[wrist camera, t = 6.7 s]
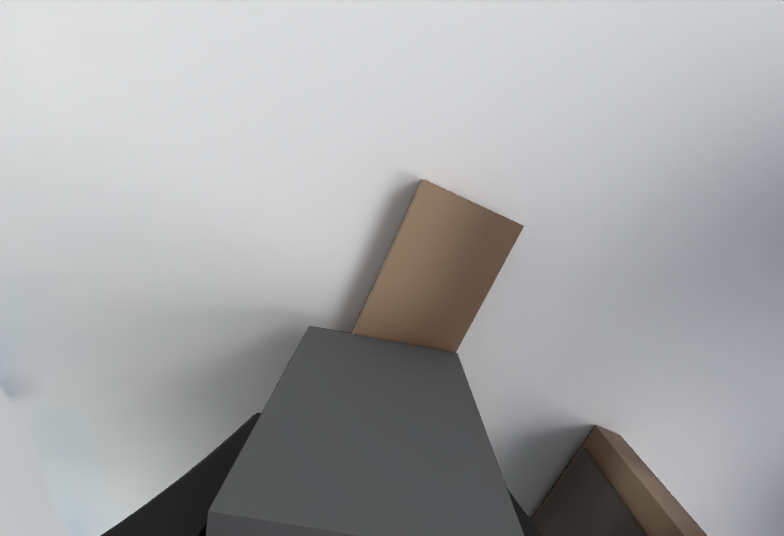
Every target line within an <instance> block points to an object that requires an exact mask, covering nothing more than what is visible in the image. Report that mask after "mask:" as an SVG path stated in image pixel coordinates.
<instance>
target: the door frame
mask: <svg viewBox="0 0 784 536" xmlns="http://www.w3.org/2000/svg"><path fill="white" fill-rule="evenodd" d="M523 227H524V226H523V225H521V224H519V223H516V222H514V221H512V220H510V219H508V218H506V217H504V216H501V215H499V214H497V213H495V212H493V211H491V210H488V209H486V208H484V207H482V206H480V205H478V204H476V203H473V202H471V201H469V200H467V199H465V198H463V197H461V196H458V195H456V194H454V193H452V192H450V191H448V190H446V189H443V188H441V187H439V186H437V185H435V184H433V183H430V182H428V181H426V180H424V179H421V181H420V184H419V186H418V188H417V190H416V192H415V195H414V197H413V199H412V201H411V203H410V206H409V208H408V210H407V212H406V214H405V216H404V219H403V221H402V223H401V225H400V227H399V230H398V232H397V234H396V236H395V238H394V241H393V243H392V245H391V247H390V249H389V252H388V254H387V256H386V258H385V260H384V263H383V265H382V267H381V269H380V271H379V274H378V276H377V278H376V280H375V282H374V285H373V287H372V289H371V291H370V293H369V296H368V298H367V300H366V302H365V304H364V307H363V309H362V311H361V313H360V315H359V318H358V320H357V322H356V324H355V326H354V329H353V331H352V333H351V334H356V335H361V336H367V337H372V338H377V339H383V340H388V341H393V342H398V343H404V344H409V345H414V346H420V347H425V348H430V349H436V350H441V351H446V352H452V353H456V351H457V349H458V347H459V345H460V343H461V342H462V340H463V338H464V336H465V334H466V332H467V331H468V329H469V327H470V325H471V323H472V321H473V319H474V318H475V316H476V314H477V312H478V310H479V308H480V306H481V305H482V303H483V301H484V299H485V297H486V295H487V293H488V292H489V290H490V288H491V286H492V284H493V282H494V280H495V279H496V277H497V275H498V273H499V271H500V269H501V268H502V266H503V264H504V262H505V260H506V258H507V256H508V255H509V253H510V251H511V249H512V247H513V245H514V243H515V242H516V240H517V238H518V236H519V234H520V232H521V230H522V229H523ZM531 522H532V523H533V524H534V526H535V527H536V528H537V529H538V531H539V532H540V533H541V535H542V536H707V535H706V534H705V532H704V531H703V530H702V529H701V528H700V527H699V526H698V524H697V523H696V522H695V521H694V520H693V519H692V517H691V516H690V515H689V514H688V513H687V512H686V511H685V509H684V508H683V507H682V506H681V505H680V504H679V502H678V501H677V500H676V499H675V498H674V497H673V496H672V494H671V493H670V492H669V491H668V490H667V489H666V487H665V486H664V485H663V484H662V483H661V482H660V481H659V479H658V478H657V477H656V476H655V475H654V474H653V473H652V471H651V470H650V469H649V468H648V467H647V466H646V464H645V463H644V462H643V461H642V460H641V459H640V458H639V456H638V455H637V454H636V453H635V452H634V451H633V449H632V448H631V447H630V446H629V445H628V444H627V443H626V441H625V440H624V439H623V438H622V437H621V436H620V435H618V434H615V433H613V432H611V431H608V430H606V429H603V428H601V427H599V426H595V427H594V428H593V430H592V431H591V433H590V434H589V436H588V437H587V439H586V440H585V442H584V443H583V445H582V446H581V448H580V449H579V450H578V452H577V453H576V455H575V456H574V458H573V459H572V461H571V462H570V464H569V465H568V467H567V468H566V470H565V471H564V472H563V474H562V475H561V477H560V478H559V480H558V481H557V483H556V484H555V486H554V487H553V489H552V490H551V492H550V493H549V494H548V496H547V497H546V499H545V500H544V502H543V503H542V505H541V506H540V508H539V509H538V511H537V512H536V514H535V515H534V517H533V518H532V519H531Z"/></svg>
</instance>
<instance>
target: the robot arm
mask: <svg viewBox="0 0 784 536" xmlns="http://www.w3.org/2000/svg"><path fill="white" fill-rule="evenodd" d="M261 414H262V413H256V414H255V415H253V416H252V417H251V418H250V419H249V420H248V421H247V422H246V423H244V424H243V425H242V426H241V427H240V428H239V429H238V430H237V431H236V432H235V433H233V434H232V435H231V436H230V437H229V438H228V439H227V440H226V441H224V442H223V443H222V444H221V445H220V446H219V447H218V448H216V449H215V450H214V451H213V452H212V453H210V454H209V455H208V456H207V457H206V458H204V459H203V460H202V461H201V462H200V463H198V464H197V465H196V466H195V467H193V468H192V469H191V470H190V471H189V472H187V473H186V474H185V475H184V476H182V477H181V478H180V479H179V480H177V481H176V482H175V483H173V484H172V485H171V486H169V487H168V488H167V489H165V490H164V491H163V492H161V493H160V494H159V495H157V496H156V497H155V498H153V499H152V500H151V501H149V502H148V503H147V504H145V505H144V506H143V507H141V508H140V509H139V510H137V511H136V512H134V513H133V514H131V515H130V516H129V517H127V518H126V519H124V520H123V521H122V522H120V523H119V524H117V525H116V526H114V527H113V528H111V529H110V530H108V531H107V532H105V533H104V534H102V535H101V536H206V528H207V518H208V511H209V509H210V507H211V505H212V503H213V501H214V500H215V498H216V496H217V494H218V492H219V490H220V489H221V487H222V485H223V483H224V481H225V479H226V478H227V476H228V474H229V472H230V470H231V468H232V467H233V465H234V463H235V461H236V459H237V457H238V456H239V454H240V452H241V450H242V448H243V446H244V445H245V443H246V441H247V439H248V437H249V436H250V434H251V432H252V430H253V428H254V426H255V425H256V423H257V421H258V419H259V417H260V415H261ZM506 488H507V487H506ZM507 490H508V489H507ZM508 493H509V496H510V498H511V501H512V504H513V507H514V509H515V512H516V515H517V517H518V520H519V523H520V526H521V528H522V531H523V534H524V536H542V535H541V533H540V532H539V531H538V529H537V528H536V527H535V526H534V524H533V523H532V522H531V520H530V519H529V518H528V516H527V515H526V513H525V512H524V511H523V509H522V508H521V507H520V505H519V504H518V503H517V501H516V500H515V498H514V497H513V496H512V494H511V493H510V491H509V490H508Z"/></svg>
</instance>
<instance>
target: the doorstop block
mask: <svg viewBox="0 0 784 536" xmlns="http://www.w3.org/2000/svg"><path fill="white" fill-rule="evenodd" d="M206 536H524V534H523V531H522V528H521V526H520V523H519V520H518V517H517V515H516V512H515V509H514V507H513V504H512V501H511V498H510V496H509V493H508V490H507V488H506V485H505V482H504V479H503V477H502V474H501V471H500V469H499V466H498V463H497V460H496V458H495V455H494V452H493V449H492V447H491V444H490V441H489V439H488V436H487V433H486V430H485V428H484V425H483V422H482V420H481V417H480V414H479V411H478V409H477V406H476V403H475V400H474V398H473V395H472V392H471V390H470V387H469V384H468V381H467V379H466V376H465V373H464V371H463V368H462V365H461V362H460V360H459V357H458V354H457V353H452V352H446V351H441V350H436V349H430V348H425V347H420V346H414V345H409V344H404V343H398V342H393V341H388V340H383V339H377V338H372V337H367V336H361V335H356V334H351V333H345V332H340V331H335V330H329V329H324V328H319V327H314V326H309V328H308V329H307V331H306V333H305V335H304V337H303V339H302V340H301V342H300V344H299V346H298V348H297V350H296V351H295V353H294V355H293V357H292V359H291V360H290V362H289V364H288V366H287V368H286V370H285V371H284V373H283V375H282V377H281V379H280V381H279V382H278V384H277V386H276V388H275V390H274V392H273V393H272V395H271V397H270V399H269V401H268V403H267V404H266V406H265V408H264V410H263V412H262V414H261V415H260V417H259V419H258V421H257V423H256V425H255V426H254V428H253V430H252V432H251V434H250V436H249V437H248V439H247V441H246V443H245V445H244V446H243V448H242V450H241V452H240V454H239V456H238V457H237V459H236V461H235V463H234V465H233V467H232V468H231V470H230V472H229V474H228V476H227V478H226V479H225V481H224V483H223V485H222V487H221V489H220V490H219V492H218V494H217V496H216V498H215V500H214V501H213V503H212V505H211V507H210V509H209V511H208V518H207V528H206Z"/></svg>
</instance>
